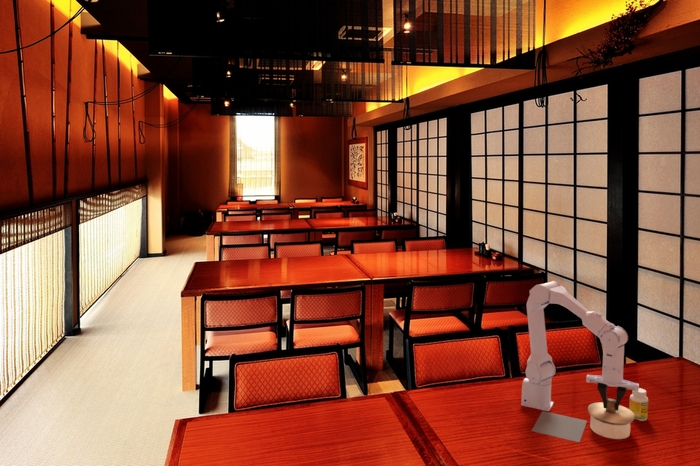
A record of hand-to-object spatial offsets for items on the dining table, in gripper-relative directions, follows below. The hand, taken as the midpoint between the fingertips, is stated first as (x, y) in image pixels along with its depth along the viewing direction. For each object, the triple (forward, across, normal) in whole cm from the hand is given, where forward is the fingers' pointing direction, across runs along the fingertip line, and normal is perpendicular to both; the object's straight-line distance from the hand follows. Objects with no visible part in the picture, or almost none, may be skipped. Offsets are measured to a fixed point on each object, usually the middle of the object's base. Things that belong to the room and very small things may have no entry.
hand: (610, 408), depth 162 cm
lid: (+2, 0, 0) cm, 2 cm away
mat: (+8, -14, -5) cm, 17 cm away
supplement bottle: (+8, +7, +15) cm, 18 cm away
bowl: (+8, 0, 0) cm, 8 cm away
